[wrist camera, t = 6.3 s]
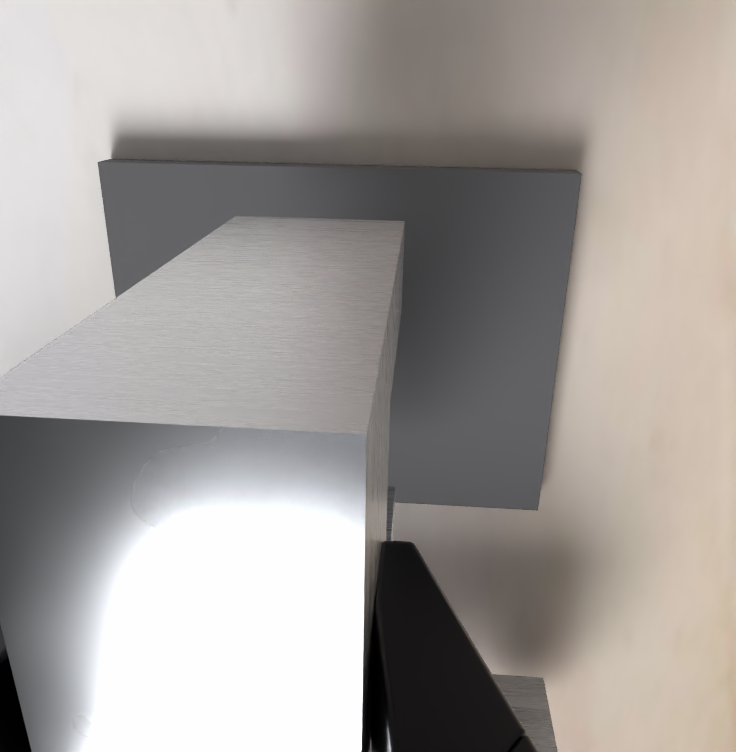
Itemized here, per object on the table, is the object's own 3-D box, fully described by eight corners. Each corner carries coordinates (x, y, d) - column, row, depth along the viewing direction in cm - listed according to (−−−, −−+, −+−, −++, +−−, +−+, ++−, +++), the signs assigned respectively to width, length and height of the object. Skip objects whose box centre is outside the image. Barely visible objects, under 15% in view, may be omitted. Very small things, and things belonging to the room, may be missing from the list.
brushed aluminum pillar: (405, 221, 12) (366, 434, 5) (392, 550, 15) (356, 1010, 7) (235, 216, 12) (-52, 412, 5) (254, 542, 15) (87, 981, 8)
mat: (575, 170, 14) (582, 173, 14) (534, 496, 18) (537, 510, 17) (109, 159, 15) (97, 162, 15) (149, 475, 18) (141, 487, 18)
